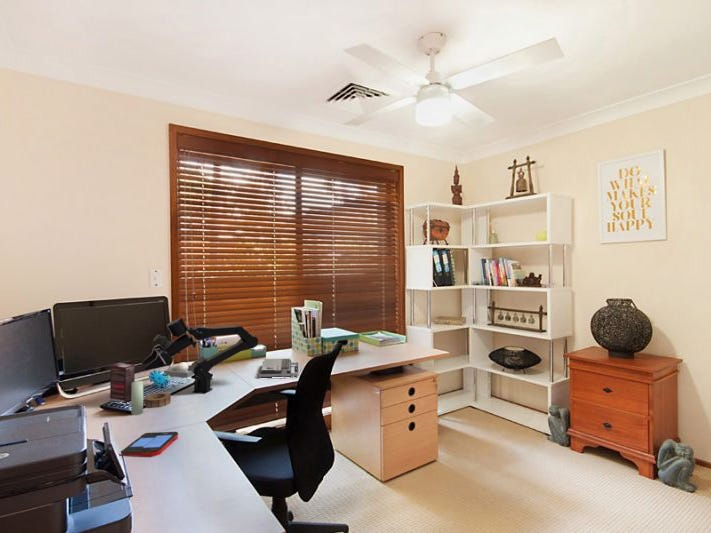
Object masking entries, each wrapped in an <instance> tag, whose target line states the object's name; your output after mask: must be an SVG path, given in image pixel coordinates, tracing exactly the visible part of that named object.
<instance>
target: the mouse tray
mask: <svg viewBox="0 0 711 533" xmlns="http://www.w3.org/2000/svg"><path fill="white" fill-rule="evenodd" d="M177 366H178V365H175V366H173V367H170V368H168V369H165V370H164V371H163V373H165V375H164V376H168V375H169V376H170V377H174V376H178V378H184V377H186V379H187V377H188V378H190V377H193V376H194V375H193V373H192V372H191V369H189V368H190V367H191V364H190V365H189V364H188V367H189V368H188V370H187V371H186V372H179V371H178V370H177ZM192 375H193V376H192Z"/></svg>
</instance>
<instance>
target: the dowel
mask: <svg viewBox="0 0 711 533" xmlns="http://www.w3.org/2000/svg"><path fill="white" fill-rule="evenodd" d="M130 405H131V406H130V408H131V410H130V412H131V413H130V414H131V415H133V416H139V415H142V414H143V413H144V381H143V380H135V382H132V395H131V404H130Z"/></svg>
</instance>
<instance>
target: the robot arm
mask: <svg viewBox="0 0 711 533" xmlns="http://www.w3.org/2000/svg"><path fill="white" fill-rule="evenodd" d="M166 327H167V329H168V330H169V332H170V333H171V335H172V337H175V338H176V339H173V340H172V339H171V340H169V338H167V337H166V336H165V335H164V336H162V335H160V334H156V336H155V337H154V338H153V339H152V340H153V342H154V343H155V345H154V346H153V348H152V352H151V353H150V354H149V355H148V356H147V357H146V358H145V359H144V360H143V361H142V362H141V364H142V365H143V366H144V365H145V367H144V369H145V371H147V370H152V369H157V368H162V367H163V368H164V367H169V366H171V365H172V364H173V361H174V360H173V359H172V357H174V356H176V355H177V354H178V355H179V354H181V352H182V351H183V350H185V349H186V348H188V347H190V346H191V347H192V348H194V349H195V348H196V345H197V343H198V342H197V341H202V340H206V339H209V338H211V337H220V336H221V337H222V336H233V335H237V336H238V338H240V339H239V340H238V341H237V342H236V343H234V344H233V345H230V346H229V347H227V348H225V349H223V350H221V351H220V352H218V353H216V354H214V355H212V356H210V357H207V358H206V357H205V356H201V357H199V358H198V359H194V361H193V362H192V363H191V364H190V365H191V367H190V369H191V372H192V373H193V374H194V375H193V376H195V377H194V380H193V390H192V393H196V394H207V393H208V392H211V391H212V390H213V388H212V386H211V383H212V381H211V380H212V379H211V378H212V376H213V375H212V373H211V372H210V371H211V370H212V369H213V367H215V366H216V365H218V364H220V363H222V362H224V361H226V360H228V359H230V358H231V357H233V356H235V355H236V354H239V353H240V352H244V351H249V350H252V349H254V348H256V347H257V346H258V345H259V339H258V337H256V336H255V335H252V334H251V333H250V332H249V331H247V330H246V329H245V328H244V327H243V326H242V325H239V324H236V325H229V326H216V327H215V326H212V327H211V326H205V325H194V326H192V327H191V326H190V327H189V326H187V325H186V324H185V321H184V319H183V318H182V317H180V318H177V319H175V320H172V321H170V322H168V324H166ZM188 334H189V335H188ZM193 338H194V339H195V340H197V341H195V340H194V339H193ZM168 340H169V341H168Z"/></svg>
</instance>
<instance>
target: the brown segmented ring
mask: <svg viewBox="0 0 711 533" xmlns="http://www.w3.org/2000/svg"><path fill="white" fill-rule="evenodd" d="M171 398H172V395H171V393H170V392H164V391H163V392H154V393H149V394H147V395H145V397H143V405H144V404H145V408H150V409H151V408H152V409H153V408H162V407H164V406H167V405H169V404H170V403H171V401H172V399H171Z"/></svg>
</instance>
